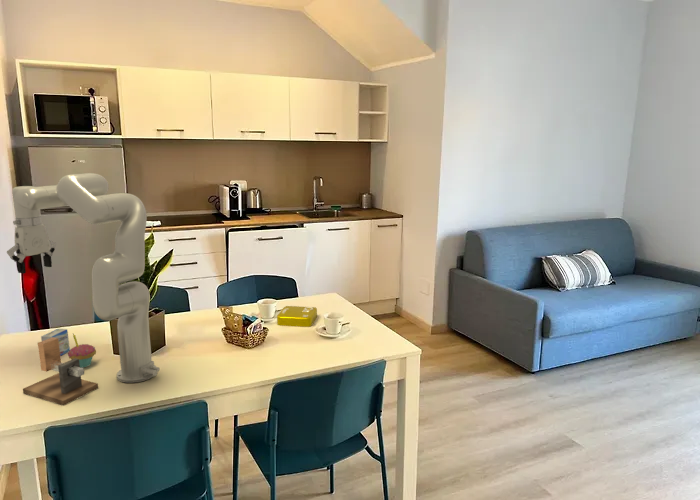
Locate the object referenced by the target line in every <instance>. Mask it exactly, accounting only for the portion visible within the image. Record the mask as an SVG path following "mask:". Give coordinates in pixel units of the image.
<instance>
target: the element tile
mask: <svg viewBox="0 0 700 500" xmlns="http://www.w3.org/2000/svg"><path fill="white" fill-rule="evenodd" d="M317 318H318V309H317V307H315V306H299V305H297V306H296V305H285V306H284V307H282V309H281V310H280V312H279V313H278V314H277V316H276V324H277V326H281V327H298V328H299V327H300V328H310V327H312V326H313V324H314V322H315V321H316V319H317Z"/></svg>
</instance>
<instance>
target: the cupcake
mask: <svg viewBox="0 0 700 500" xmlns="http://www.w3.org/2000/svg"><path fill="white" fill-rule="evenodd" d="M72 336H73V340H74V343H75V346H73V347H72V348H70V351H69V352H67V356H68V359H69V360H72V359H75V358H77V359H79V364H80V367H81V368H86V367H89V366H91V364H92V359H93V357H95V355H96V353H97V349H96V347H95V346H93V345H92V344H91V345H90V344H88V343H87V344H86V343H85V344H83V343H82V344H78V339H77V337H76V335H75V334H74V333H72Z"/></svg>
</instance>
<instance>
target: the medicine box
mask: <svg viewBox="0 0 700 500" xmlns="http://www.w3.org/2000/svg"><path fill="white" fill-rule="evenodd" d="M52 337H54V338H58V341H59V349H60V357H61V356H63V355H65V354H68V352H69V351H70V350H71V347H70V340H69V332H68V329H66V328H57V329H54V330H52V331H50V332H48V333H45V334H43V335H41V336H40V338H41V341H44V340H47V339H49V338H52Z"/></svg>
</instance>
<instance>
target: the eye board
mask: <svg viewBox="0 0 700 500" xmlns="http://www.w3.org/2000/svg"><path fill="white" fill-rule="evenodd" d="M62 363H63V364H60V365H58V369H59V372H57V373H55V374H52V375H50V376H49V377H47V378H44V379H42V380H39V381H37V382H35V383H32V384H30V385H28V386H26V387H23V388H22V393H23V394H24V395H27V396H31V397H35V398H38V399H41V400H43V401H47V402H51V403H54V404H56V405H57V404H58V405H61V406H66V405H68V404H70V403H71V402H73V401H75V400H77V398H78V399H80V398H82V397H83V396H85V395H87V394H89V393H91V392H93V391H95V390H98V389H99V383H98V382H93V381H90V380H86V379H82V376H80V377H76V376H72V375H69V374H67V367H69V366H72V365H73V366H77V367H80V364H79V359H77V358H75V359H69V360H68V361H65V362H62Z"/></svg>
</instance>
